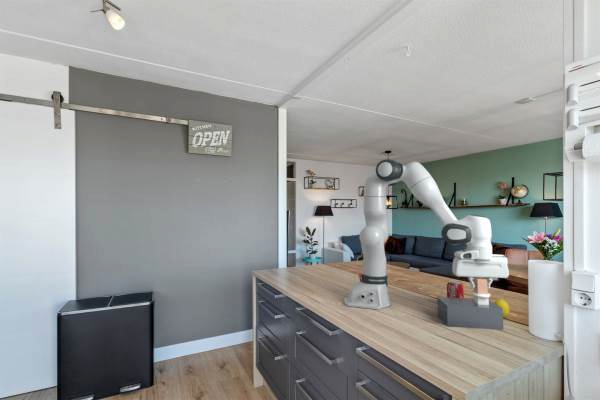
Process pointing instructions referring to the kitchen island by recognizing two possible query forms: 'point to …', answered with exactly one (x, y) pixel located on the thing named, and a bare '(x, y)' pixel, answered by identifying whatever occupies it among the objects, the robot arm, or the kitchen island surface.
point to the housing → (469, 313)
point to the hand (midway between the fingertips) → (480, 287)
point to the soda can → (455, 289)
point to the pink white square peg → (481, 291)
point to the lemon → (503, 305)
